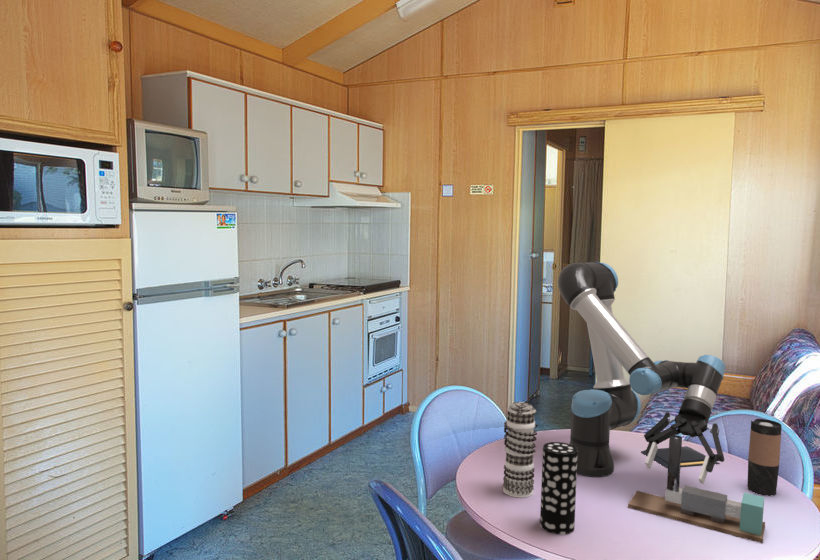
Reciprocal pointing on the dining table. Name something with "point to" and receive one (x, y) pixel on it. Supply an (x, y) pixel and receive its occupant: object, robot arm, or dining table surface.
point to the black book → (687, 457)
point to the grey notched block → (703, 503)
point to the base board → (673, 511)
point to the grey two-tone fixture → (673, 479)
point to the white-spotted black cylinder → (558, 487)
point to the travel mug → (764, 456)
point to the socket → (752, 513)
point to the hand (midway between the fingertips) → (673, 473)
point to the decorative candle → (519, 450)
